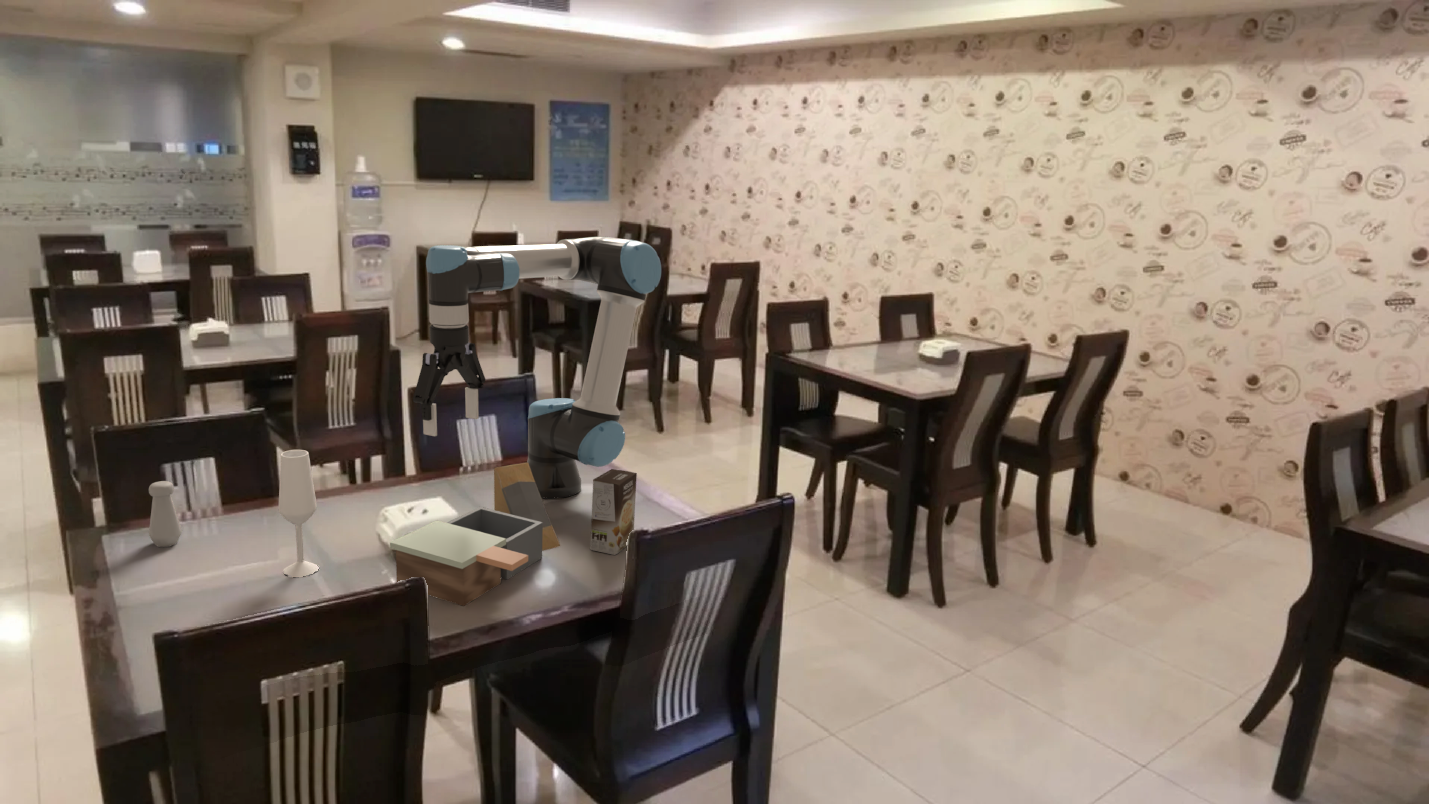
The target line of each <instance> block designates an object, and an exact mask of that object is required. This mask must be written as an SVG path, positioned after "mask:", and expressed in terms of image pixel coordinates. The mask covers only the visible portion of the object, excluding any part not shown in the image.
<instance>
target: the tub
mask: <svg viewBox="0 0 1429 804" xmlns="http://www.w3.org/2000/svg"><path fill="white" fill-rule="evenodd" d="M446 523H449V524H453V525H457V526H460V527H464V528H468V529H472V530H475V531H479V532H483V533H487V534H490V535H494V536H498V537H502V538H506V545H504V546H503V547H501V548H503V549H507V550H511V551H514V552H518V553H522V554H526V555H528V562H526V563H524V564H523V565H521V566H519V567H518V568H516V569H514V570H513V571H510V570H507V569H503V568H501V579H504V580H509V579H510V578H512V577H514V576H515V575H516V574H519V573H520V572H522V571H523V570H525V569H527V568H528V567H530V566H531V565H533V564H534V563H536V562H538V561H539V560H542V559H543V551H542V535H543V522H539V521H535V520H531V519H527V518H523V517H519V516H515V515H511V514H507V513H503V512H499V511H496V510H494V509H493V508H492V509H491V508H486V507H483V506H479V507H477V508H475V509H472V510H470V511H468V512H466V513H463V514H461V515H460V516H458V517H456V518H454V519H451V520H449V521H447V522H446Z"/></svg>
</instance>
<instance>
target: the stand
mask: <svg viewBox="0 0 1429 804" xmlns="http://www.w3.org/2000/svg"><path fill="white" fill-rule="evenodd" d="M395 565H396V567H395V571H396V583H397V582H398V581H400V580H406V579H409V578H411V577H424V578H425V580H426V583H427V585H428V595H427V596H429V595H431V596H430V597H433V596H434V597H433V598H436V597H437V598H436V599H440V600H443V601H446V602H449V603H451V604H456V605H460V606H463V607H465V606H466V605H468V604H469V603H471V602H473V601H474V600H476V599H478V598H479V597H481V596H482V595H484V594H485V593H487V592H490V591H491V590H492V589H494V588H495V587H498V585H501V581H502V578H501V568H499V567H496V566H492V565H489V564H485V563H482V562H478V561H476V562H474V563H472V564H470V565H468V566H467V567H465V568H463V569H461V568H457V567H454V566H450V565H447V564H443V563H440V562H436V561H433V560H429V559H426V558H422V557H419V556H416V555H412V554H409V553H405V552H402V551H398V550H395Z"/></svg>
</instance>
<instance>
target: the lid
mask: <svg viewBox="0 0 1429 804" xmlns="http://www.w3.org/2000/svg"><path fill="white" fill-rule="evenodd" d="M504 545H506V538H502V537H498V536H494V535H490V534H487V533H483V532H479V531H475V530H472V529H468V528H464V527H460V526H457V525H453V524H449V523H447V522H444V521H442V520H438V519H437V520H435V521H433V522H430V523H428V524H426V525H424V526H422V527H420V528H417V529H415V530H413V531H412V532H409V533H407V534H405V535H403V536H401V537H399V538H396V539H394V540H391V541H390V542H389V548H390V549H392V550H395V551H396V550H398V551H402V552H405V553H409V554H412V555H416V556H419V557H422V558H426V559H429V560H433V561H436V562H440V563H443V564H447V565H450V566H454V567H457V568H461V569H463V568H465V567H467V566H468V565H470V564H472V563H474V562H476V561H478V562H482V563H485V564H489V565H492V566H496V567H499V568H503V569H507V570H510V571H513V570H514V569H516V568H518V567H519V566H521V565H523V564H524V563H526V562H528V555H526V554H522V553H518V552H514V551H511V550H507V549H503V548H501V547H503V546H504Z"/></svg>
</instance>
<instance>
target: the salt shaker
mask: <svg viewBox="0 0 1429 804" xmlns="http://www.w3.org/2000/svg"><path fill="white" fill-rule="evenodd" d="M174 492H175V487H174V483H172V482H171V481H168V480H161V481H155V482H152V483H151V484H150V485H149V487H148V494H149V495H150V496H151V497H152V502H151V511H150V512H151V513H150V521H149V528H148V536H149V538H150V539H151V541H152V543H153V545H155V546H157V547H158V548H163V547H164V548H167V547H171V546H173V545H177V544H178V541H179V539H180V537H181V536H182V532H183V529H182V526H181V522H180V520H179V517H178V515H177V514H178V513H177V511H176V508H175V504H174V501H173V498H172V494H173V493H174Z"/></svg>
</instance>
